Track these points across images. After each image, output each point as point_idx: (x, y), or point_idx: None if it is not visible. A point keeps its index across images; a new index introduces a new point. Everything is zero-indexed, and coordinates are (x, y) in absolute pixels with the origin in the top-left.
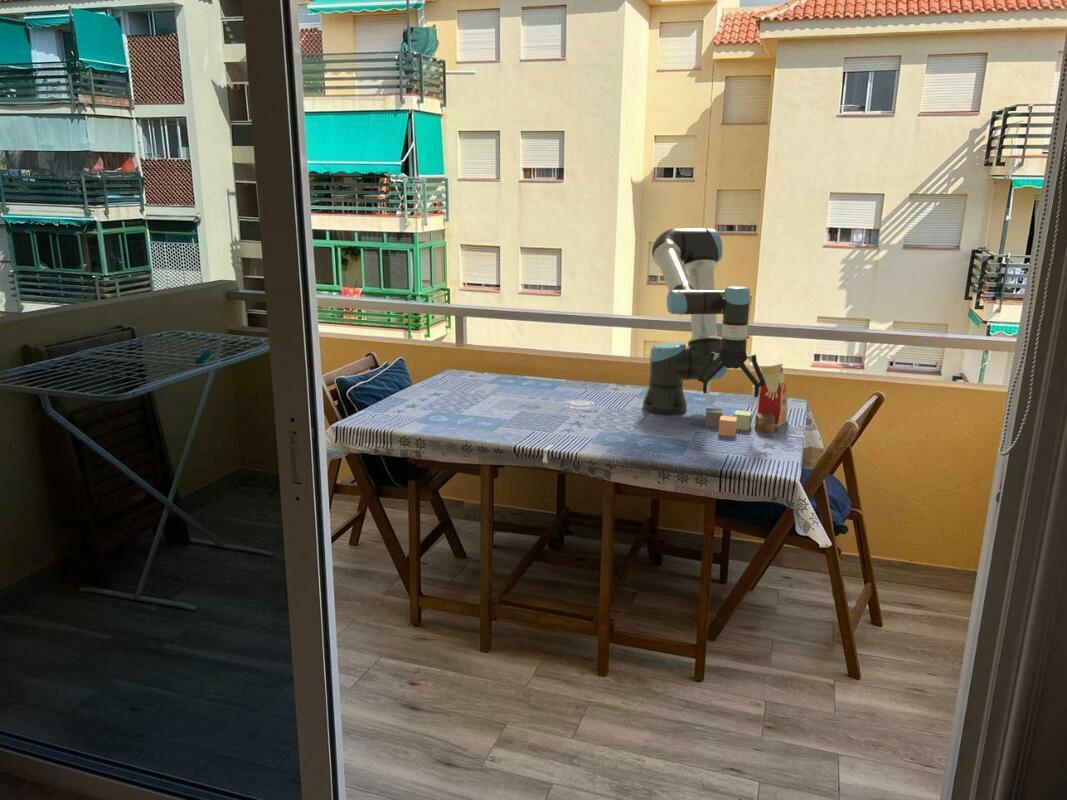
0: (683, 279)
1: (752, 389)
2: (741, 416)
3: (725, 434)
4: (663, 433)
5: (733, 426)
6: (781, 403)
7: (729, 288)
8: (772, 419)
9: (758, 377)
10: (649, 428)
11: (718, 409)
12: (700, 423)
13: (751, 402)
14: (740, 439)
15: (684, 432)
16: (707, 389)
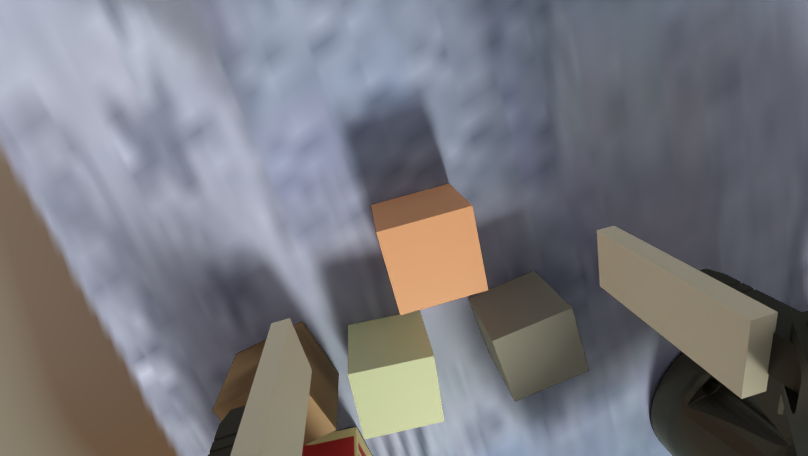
0: None
1: (256, 448)
2: (391, 358)
3: (417, 194)
4: (700, 48)
5: (385, 218)
6: None
7: None
8: (227, 398)
9: None
10: (772, 94)
11: (527, 383)
12: (566, 301)
13: (281, 347)
14: (329, 173)
15: (606, 127)
16: (711, 283)
